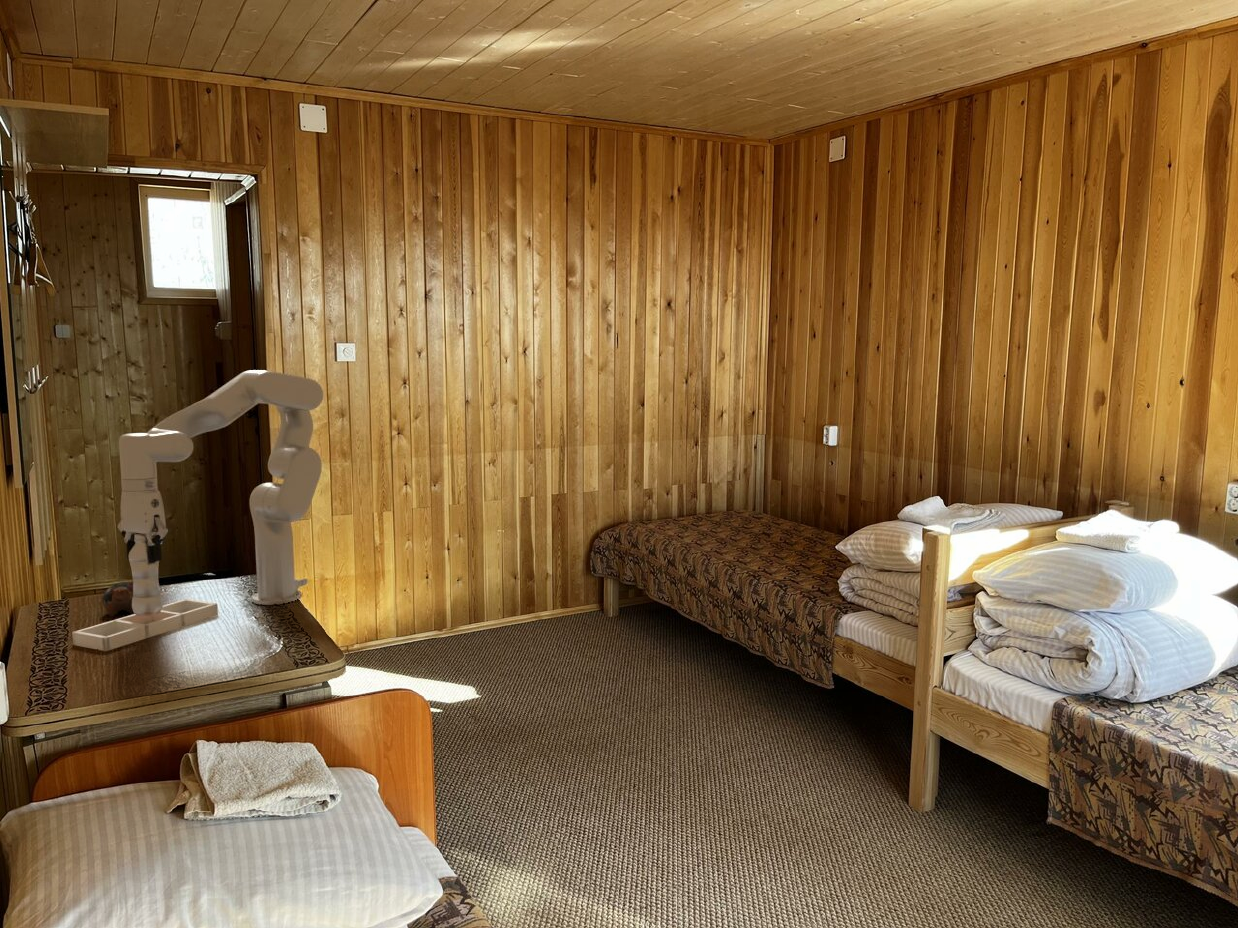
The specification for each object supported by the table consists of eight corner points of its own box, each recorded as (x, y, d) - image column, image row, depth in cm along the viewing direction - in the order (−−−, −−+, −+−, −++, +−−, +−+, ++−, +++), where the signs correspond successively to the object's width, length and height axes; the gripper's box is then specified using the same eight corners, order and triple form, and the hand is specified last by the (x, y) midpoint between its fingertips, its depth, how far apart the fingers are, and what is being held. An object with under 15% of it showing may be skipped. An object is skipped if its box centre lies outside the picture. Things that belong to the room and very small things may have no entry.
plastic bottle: (155, 618, 219) (150, 535, 216) (126, 618, 219) (121, 535, 216) (168, 611, 225) (163, 530, 223) (140, 611, 225) (135, 530, 223)
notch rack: (186, 610, 239) (186, 598, 238) (217, 615, 234) (217, 603, 234) (73, 644, 211) (72, 632, 210) (106, 651, 206) (105, 638, 206)
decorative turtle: (102, 622, 229) (98, 590, 228) (105, 611, 242) (101, 581, 241) (146, 615, 233) (142, 583, 232) (147, 604, 246) (143, 575, 246)
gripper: (179, 485, 218) (183, 560, 220) (128, 481, 225) (133, 553, 227) (151, 489, 211) (156, 566, 214) (100, 485, 219) (105, 559, 221)
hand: (144, 559), depth 220 cm, fingers closed on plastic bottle, 6 cm apart
